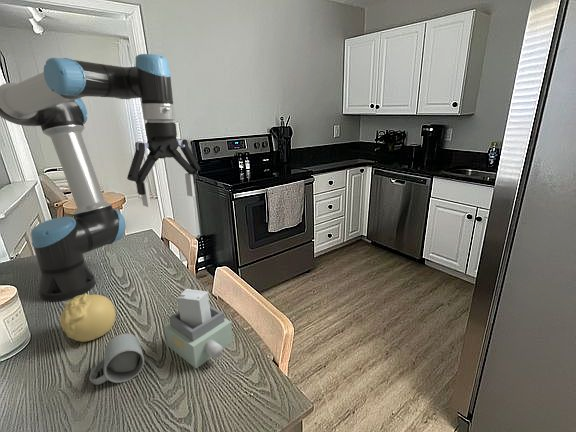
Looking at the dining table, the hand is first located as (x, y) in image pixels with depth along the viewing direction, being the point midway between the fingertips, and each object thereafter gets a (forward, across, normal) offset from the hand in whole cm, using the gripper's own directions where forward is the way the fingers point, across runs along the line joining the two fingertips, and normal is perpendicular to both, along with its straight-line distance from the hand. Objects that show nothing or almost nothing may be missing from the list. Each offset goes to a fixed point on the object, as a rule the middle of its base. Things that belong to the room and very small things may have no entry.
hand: (170, 200), depth 86 cm
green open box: (+32, -9, -23) cm, 40 cm away
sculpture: (+32, -24, +5) cm, 40 cm away
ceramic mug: (+32, -26, -14) cm, 43 cm away
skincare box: (+29, -9, -21) cm, 37 cm away
